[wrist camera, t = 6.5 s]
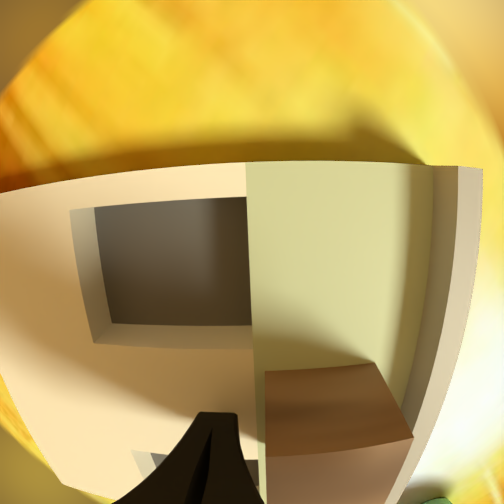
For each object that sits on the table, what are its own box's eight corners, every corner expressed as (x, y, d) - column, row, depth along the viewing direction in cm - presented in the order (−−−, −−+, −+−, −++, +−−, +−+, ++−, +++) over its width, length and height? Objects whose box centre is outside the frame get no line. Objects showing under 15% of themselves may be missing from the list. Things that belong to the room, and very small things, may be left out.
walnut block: (360, 436, 11) (382, 507, 8) (266, 444, 12) (267, 521, 8) (374, 362, 11) (414, 437, 7) (264, 371, 11) (265, 456, 7)
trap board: (373, 480, 15) (385, 521, 12) (73, 465, 16) (54, 498, 12) (429, 167, 11) (482, 169, 7) (-14, 198, 11) (-64, 208, 8)
